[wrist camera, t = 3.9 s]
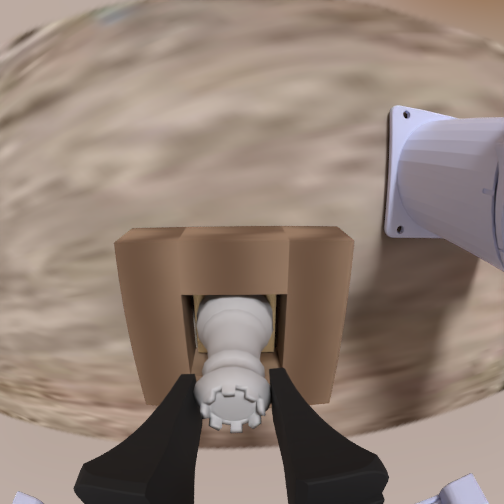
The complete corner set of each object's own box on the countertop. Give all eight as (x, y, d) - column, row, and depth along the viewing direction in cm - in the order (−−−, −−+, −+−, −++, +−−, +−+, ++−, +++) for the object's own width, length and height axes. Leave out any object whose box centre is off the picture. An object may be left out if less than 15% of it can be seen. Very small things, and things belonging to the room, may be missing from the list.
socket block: (337, 226, 18) (354, 240, 15) (320, 375, 22) (329, 403, 19) (132, 228, 18) (114, 242, 15) (155, 376, 21) (146, 404, 18)
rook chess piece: (230, 357, 20) (227, 457, 12) (182, 309, 18) (151, 404, 11) (287, 319, 19) (312, 415, 11) (240, 265, 18) (240, 350, 10)
